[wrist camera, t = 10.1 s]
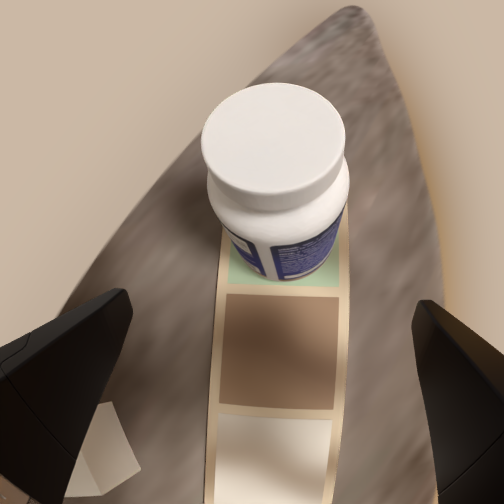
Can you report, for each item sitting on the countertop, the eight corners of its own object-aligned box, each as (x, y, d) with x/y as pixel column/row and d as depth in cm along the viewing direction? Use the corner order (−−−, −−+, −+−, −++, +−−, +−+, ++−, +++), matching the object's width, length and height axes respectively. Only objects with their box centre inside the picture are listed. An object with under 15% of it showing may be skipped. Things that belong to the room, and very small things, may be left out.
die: (141, 469, 16) (101, 495, 11) (88, 477, 16) (45, 497, 11) (112, 401, 18) (64, 410, 13) (62, 415, 18) (14, 423, 13)
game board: (329, 513, 14) (329, 515, 14) (205, 504, 15) (204, 505, 15) (345, 183, 20) (345, 181, 19) (228, 182, 21) (227, 180, 21)
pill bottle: (336, 199, 19) (361, 79, 10) (327, 290, 18) (362, 223, 8) (246, 188, 20) (208, 71, 11) (228, 276, 19) (162, 202, 9)
